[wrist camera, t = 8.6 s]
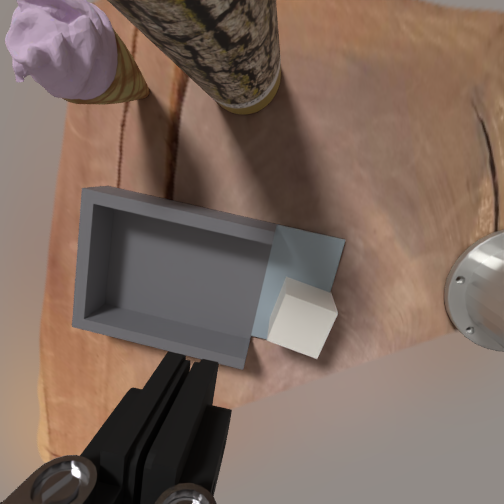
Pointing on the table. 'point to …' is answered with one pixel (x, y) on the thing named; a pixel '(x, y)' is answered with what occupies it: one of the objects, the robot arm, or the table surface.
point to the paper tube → (216, 45)
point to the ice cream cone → (73, 52)
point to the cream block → (302, 318)
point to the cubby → (187, 273)
